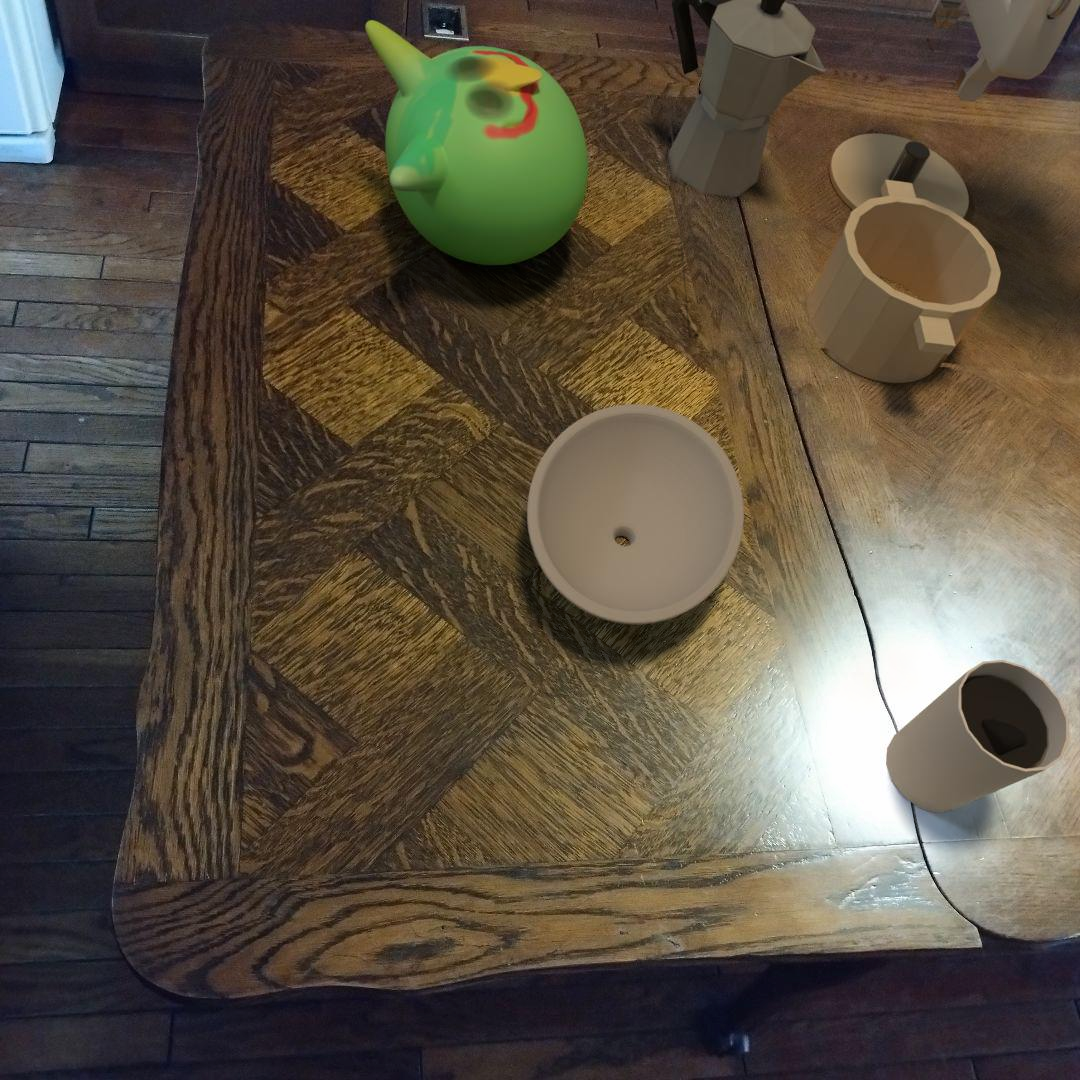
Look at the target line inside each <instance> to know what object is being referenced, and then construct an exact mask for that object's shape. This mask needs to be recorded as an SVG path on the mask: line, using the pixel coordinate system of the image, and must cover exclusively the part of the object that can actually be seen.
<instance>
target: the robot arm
mask: <svg viewBox="0 0 1080 1080" xmlns="http://www.w3.org/2000/svg"><path fill="white" fill-rule="evenodd" d="M963 2H964V4H965V7H966V10H967V13H968V15H969V19H970V21H971V24H972V26H973V29H974V31H975V35H976V37H977V40H978V43H979V45H980V49H979V50H978V52H977V54H976V58H977V59H978V60H977V61H976V62H975V63H974V64H973V65H972V66H971V67H965V66H963V68H962V69H961V71H960V73H959V75H958V79H956V80H955V82H954V87H955V91H956V94H957V97H958V99H959V100H961V101H967V102H976V101H978V100H979V99H980V98H981V97H982V95H983V94H984V92H985V90H986V88H987V87H988V85H989V83H991V82H993V81H995V80H996V79H997V78H999V77H1005V78H1011V79H1019V80H1032V79H1034V78H1035V77H1037V76H1039V75H1040V74H1042V73H1043V72H1044V71H1045V70H1046V68H1047V67H1048V65H1049V63H1050V62H1051V60H1052V58H1053V57H1054V55H1055V53H1056V51H1057V49H1058V48H1059V46H1060V44H1061V43H1062V41H1063V39H1064V37H1065V35H1066V33H1067V31H1068V29H1069V28H1070V27H1071V24H1072V23H1073V20H1074V18H1075V15H1076V14H1077V12H1078V10H1079V8H1080V0H936V2H935V4H934V5H933V8H932V10H931V12H930V16H931V19H932V22H933V26H934V27H935V28H936V29H944V30H951V29H953V28H955V27H956V24H957V23H958V19H959V18H960V17H961V15H962V13H963V11H964V9H963V6H962V3H963Z"/></svg>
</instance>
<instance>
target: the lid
mask: <svg viewBox="0 0 1080 1080" xmlns="http://www.w3.org/2000/svg"><path fill="white" fill-rule="evenodd" d="M828 173H829V178H830V182H831V185H832V187H833V189H834V191H835V192H836V194H837V195H838V197H839V198H840V199H841V200H842V202H843V203H844V204H845V205H846V206H847V207H849V209H850V210H852V211H853V210H854V209H856V208H857V207H859V206H860V205H861V204H863V203H864V202H866V201H867V200H869V199H873V198H878V197H882V193H881V187H882V185H883V183H884V182H885V180H892V181H900V182H907V183H912V184H913V188H914V192H915V195H916V198H921V199H925V200H928V201H930V202H933V203H935V204H938V205H940V206H943V207H945V208H947V209H950V210H952V211H953V212H955V213H956V214H958V215H959V216H960V217H962V218H963V219H964V217H965V216H966V214H967V212H968V209H969V204H970V198H969V191H968V188H967V186H966V184H965V182H964V180H963V178H962V176H961V175H960V173H959V172H958V171H957V170H956V169H955V167H954V166H953V165H952V164H951V163H949V161H948V160H946V159H945V158H943V157H942V156H941V155H940V154H938V153H937V152H935V151H934V150H932V149H931V148H929V147H927V145H926V144H924V143H921V142H919V141H914V140H911V139H908V138H906V137H902V136H899V135H894V134H887V133H863V134H857V135H854V136H852V137H850V138H848V139H845V140H844V141H843V142H841V143H840V144H839V145H838V146H837V147H836V148H835V150H834V151H833V153H832V156H831V158H830V160H829V165H828Z"/></svg>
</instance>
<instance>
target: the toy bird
mask: <svg viewBox="0 0 1080 1080" xmlns="http://www.w3.org/2000/svg"><path fill="white" fill-rule="evenodd" d="M364 28H365V32H366V35H367V38H368V39H369V41H370V43H371V45H372V46H373V48H374V50H375V51H376V53H377V55H378V57H379V58H380V60H381V61H382V64H384V67H385V68H386V69H387V71H388V72H389V74H390V76H391V77H392V79H393V81H394V83H395V84H396V86H397V87H398V90H397V92H396V94H395V96H394V98H393V101H392V103H391V106H390V109H389V112H388V116H387V121H386V126H385V138H384V139H385V141H384V145H385V146H384V148H385V160H386V166H387V171H388V177H389V184H390V185H391V187H392V189H393V192H394V195H395V197H396V199H397V202H398V204H399V205H400V207H401V209H402V211H403V213H404V214H405V216H406V217H407V219H408V221H409V222H410V223H411V225H412V226H413V227H414V229H416V230H417V232H418V233H419V234H420V235H421V236H422V237H423V238H424V239H425V240H427V242H428V243H429V244H431V245H432V246H434V247H435V248H436V249H438V250H439V251H441V252H443V253H444V254H446V255H448V256H450V257H453V258H455V259H458V260H460V261H464V262H466V263H471V264H476V265H482V266H506V265H512V264H516V263H520V262H524V261H527V260H530V259H532V258H534V257H536V256H538V255H541V254H543V252H546V251H547V250H549V249H550V248H552V246H554V245H555V244H557V243H558V242H559V241H560V240H561V239H562V238H563V237H564V236H565V235H566V234H567V232H568V231H569V230H570V228H572V226H573V225H574V223H575V221H576V219H577V218H578V216H579V213H580V211H581V209H582V207H583V203H584V201H585V198H586V192H587V189H588V181H589V156H588V155H589V154H588V148H587V147H588V146H587V142H586V137H585V133H584V130H583V129H584V128H583V126H582V124H581V123H582V122H581V121H580V118H579V115H578V113H577V111H576V108H575V106H574V105H573V103H572V101H571V99H570V98H569V96H568V94H567V93H566V92H565V90H564V88H563V87H562V86H561V85H560V83H558V81H557V80H556V79H555V78H554V77H553V76H552V75H551V74H550V73H549V72H548V71H546V70H545V69H544V68H542V67H541V66H540V65H539V64H537V63H536V62H534V61H533V60H532V59H530V58H528V57H526V56H523V55H521V54H519V53H516V52H513V51H510V50H509V49H505V48H500V47H494V46H483V45H470V46H462V47H458V48H453V49H450V50H447V51H444V52H442V53H439V54H437V55H435V56H433V57H431V58H430V57H429V56H427V55H426V54H425V53H423V52H422V51H421V50H419V49H418V48H417V47H415V46H414V45H412V44H411V43H410V42H409V41H407V40H406V39H405V38H403V37H402V36H400V35H399V34H398V33H397V32H395V31H394V30H392V29H391V28H389V27H388V26H387V25H385V24H382V23H381V22H379V21H376V20H373V19H370V20H368V21H367V22H366V23H365V25H364Z"/></svg>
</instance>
